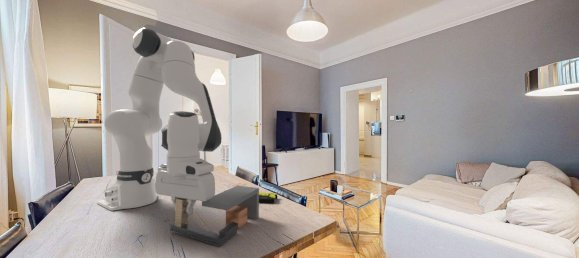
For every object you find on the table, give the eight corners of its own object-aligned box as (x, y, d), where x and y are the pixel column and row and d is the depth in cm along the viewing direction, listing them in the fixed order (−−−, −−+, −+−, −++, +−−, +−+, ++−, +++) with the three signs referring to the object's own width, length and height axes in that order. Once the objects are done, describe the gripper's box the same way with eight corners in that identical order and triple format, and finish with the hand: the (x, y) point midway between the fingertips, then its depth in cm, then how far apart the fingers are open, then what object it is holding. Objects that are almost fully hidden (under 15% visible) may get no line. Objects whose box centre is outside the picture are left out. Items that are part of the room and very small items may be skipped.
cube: (225, 225, 69) (225, 210, 69) (234, 219, 74) (234, 205, 74) (238, 228, 67) (238, 212, 67) (247, 222, 72) (247, 207, 72)
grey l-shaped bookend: (201, 236, 62) (201, 201, 62) (237, 213, 78) (237, 185, 78) (227, 242, 58) (227, 205, 58) (258, 217, 75) (258, 188, 75)
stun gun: (272, 204, 82) (278, 192, 96) (224, 202, 84) (237, 190, 99) (271, 212, 82) (278, 199, 97) (224, 209, 84) (237, 197, 99)
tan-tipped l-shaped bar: (169, 230, 62) (171, 197, 62) (191, 219, 70) (193, 190, 70) (219, 247, 56) (221, 210, 56) (237, 233, 64) (239, 200, 63)
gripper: (149, 165, 63) (148, 210, 63) (202, 169, 56) (202, 221, 56) (167, 161, 69) (167, 203, 69) (218, 165, 62) (218, 212, 62)
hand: (183, 211), depth 63 cm, fingers closed on tan-tipped l-shaped bar, 2 cm apart
